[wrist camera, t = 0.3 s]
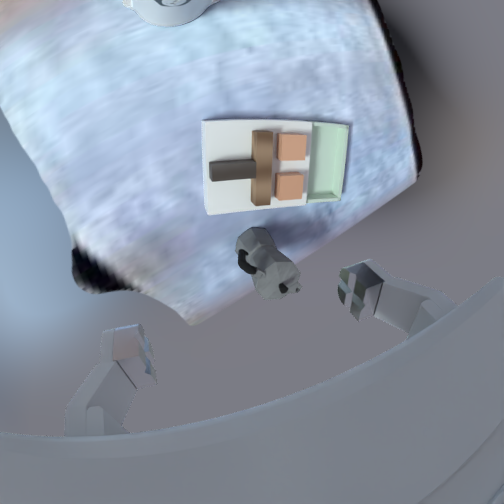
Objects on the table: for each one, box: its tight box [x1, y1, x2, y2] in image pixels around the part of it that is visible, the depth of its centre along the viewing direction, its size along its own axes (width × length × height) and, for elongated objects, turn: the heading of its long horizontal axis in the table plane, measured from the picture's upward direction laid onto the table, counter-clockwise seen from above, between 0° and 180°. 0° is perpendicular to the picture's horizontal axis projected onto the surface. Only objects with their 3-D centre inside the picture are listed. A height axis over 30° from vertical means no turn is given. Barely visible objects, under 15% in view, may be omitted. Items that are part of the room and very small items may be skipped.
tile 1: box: [276, 133, 307, 161], centre depth 49 cm, size 5×5×2 cm
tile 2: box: [274, 172, 304, 201], centre depth 53 cm, size 5×5×2 cm
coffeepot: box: [235, 228, 302, 300], centre depth 57 cm, size 15×9×18 cm, turn 55°
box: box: [303, 120, 349, 203], centre depth 57 cm, size 18×10×4 cm, turn 179°
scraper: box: [209, 130, 273, 206], centre depth 48 cm, size 14×11×3 cm
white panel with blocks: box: [202, 119, 312, 215], centre depth 53 cm, size 18×21×4 cm
